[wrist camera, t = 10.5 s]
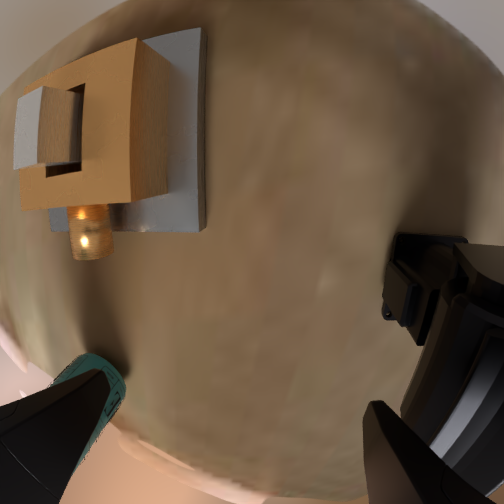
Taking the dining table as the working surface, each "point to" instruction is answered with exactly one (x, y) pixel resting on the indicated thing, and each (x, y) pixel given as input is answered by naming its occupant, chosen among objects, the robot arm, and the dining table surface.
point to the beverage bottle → (116, 393)
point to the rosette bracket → (129, 144)
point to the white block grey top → (48, 128)
